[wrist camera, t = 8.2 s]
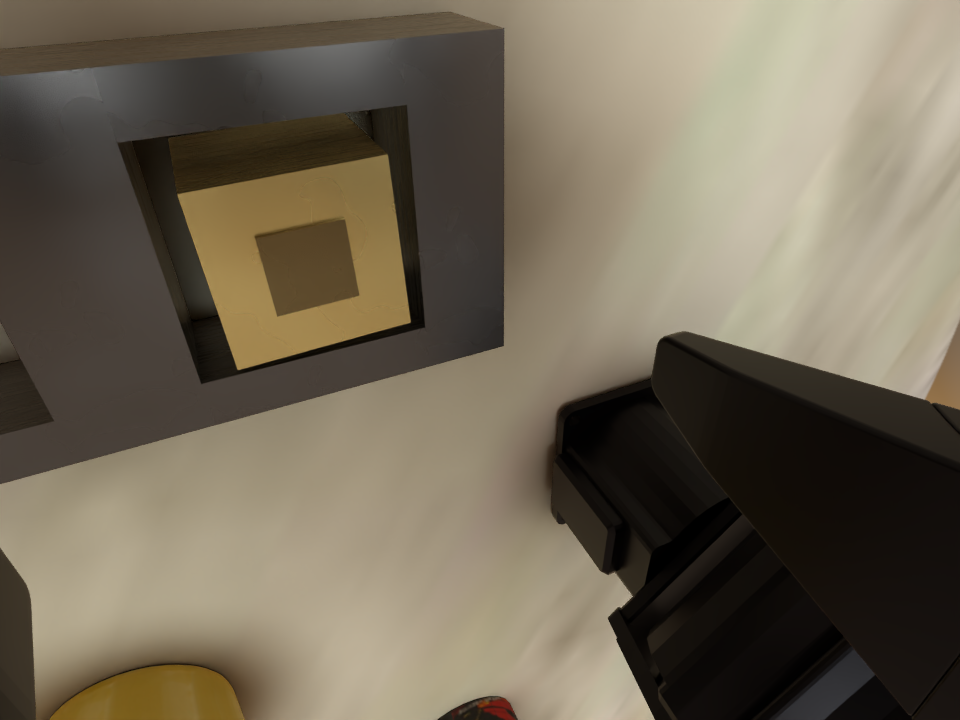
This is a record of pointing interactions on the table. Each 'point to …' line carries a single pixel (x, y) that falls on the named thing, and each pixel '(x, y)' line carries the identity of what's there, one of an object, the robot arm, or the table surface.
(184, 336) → the rail
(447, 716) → the deodorant
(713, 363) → the robot arm
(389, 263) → the nut
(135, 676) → the plant pot
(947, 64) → the table surface
